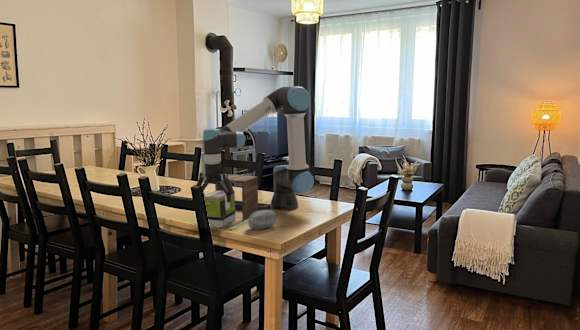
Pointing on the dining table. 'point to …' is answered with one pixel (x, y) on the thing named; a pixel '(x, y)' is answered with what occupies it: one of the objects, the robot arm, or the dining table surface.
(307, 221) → the dining table surface
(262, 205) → the pit tray
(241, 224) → the lane
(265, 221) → the gray ridged ovoid
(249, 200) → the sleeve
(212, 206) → the tea box
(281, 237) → the dining table surface
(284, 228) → the dining table surface
